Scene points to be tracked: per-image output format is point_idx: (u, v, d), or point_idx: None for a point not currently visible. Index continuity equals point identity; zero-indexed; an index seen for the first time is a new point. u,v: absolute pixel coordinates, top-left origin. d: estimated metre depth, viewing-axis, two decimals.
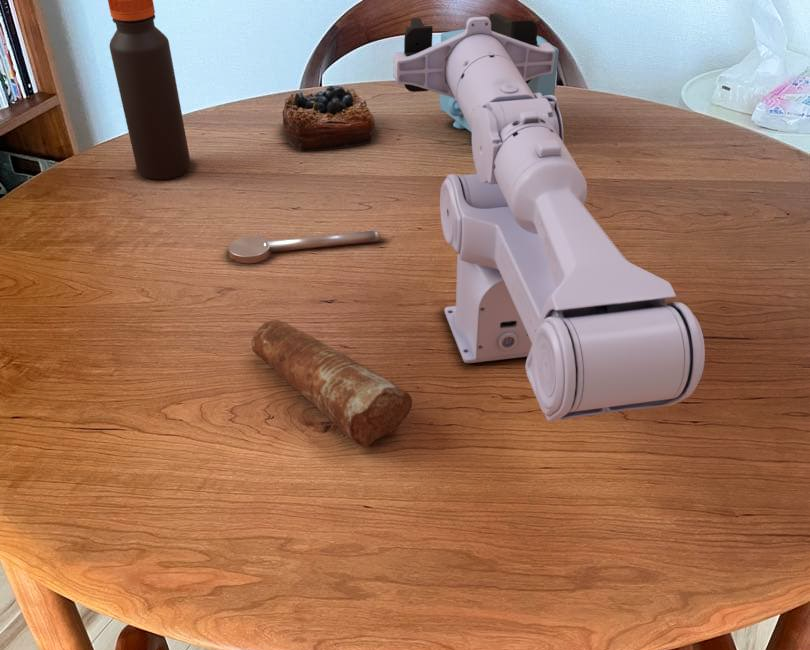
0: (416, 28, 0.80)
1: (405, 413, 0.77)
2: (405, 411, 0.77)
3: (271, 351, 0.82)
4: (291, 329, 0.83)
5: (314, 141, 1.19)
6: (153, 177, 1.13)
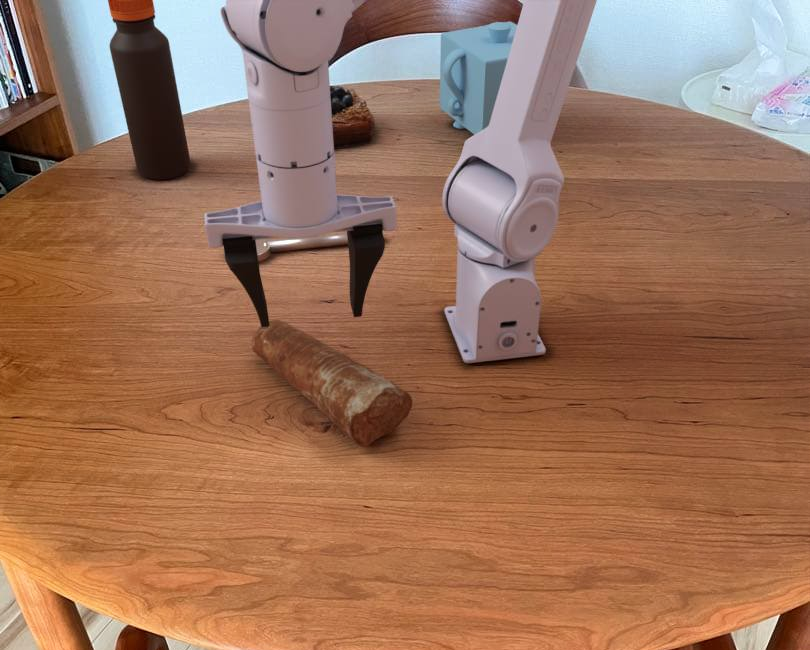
0: None
1: (405, 412, 0.77)
2: (405, 411, 0.77)
3: (271, 350, 0.82)
4: (291, 329, 0.83)
5: None
6: (153, 177, 1.13)
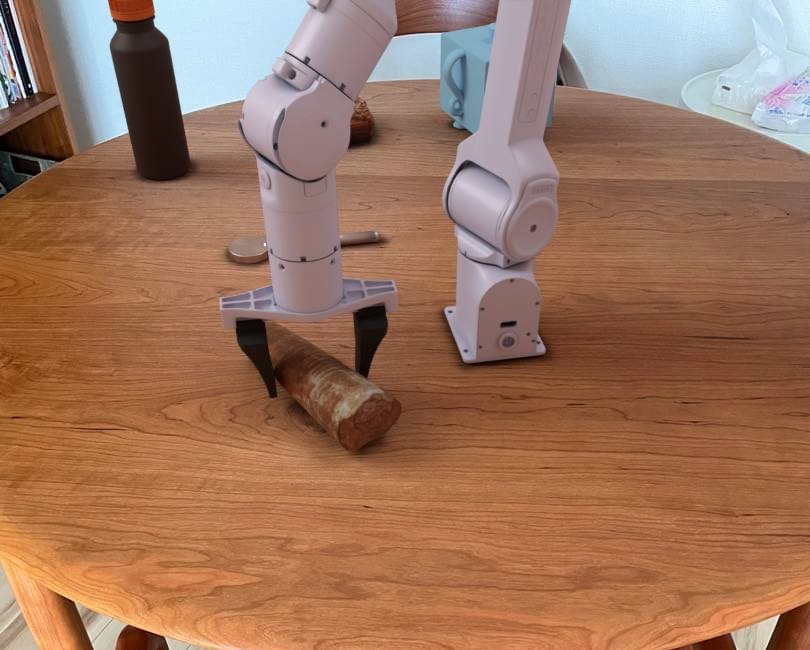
0: None
1: (394, 418, 0.76)
2: (394, 417, 0.76)
3: None
4: (285, 331, 0.82)
5: None
6: (153, 177, 1.13)
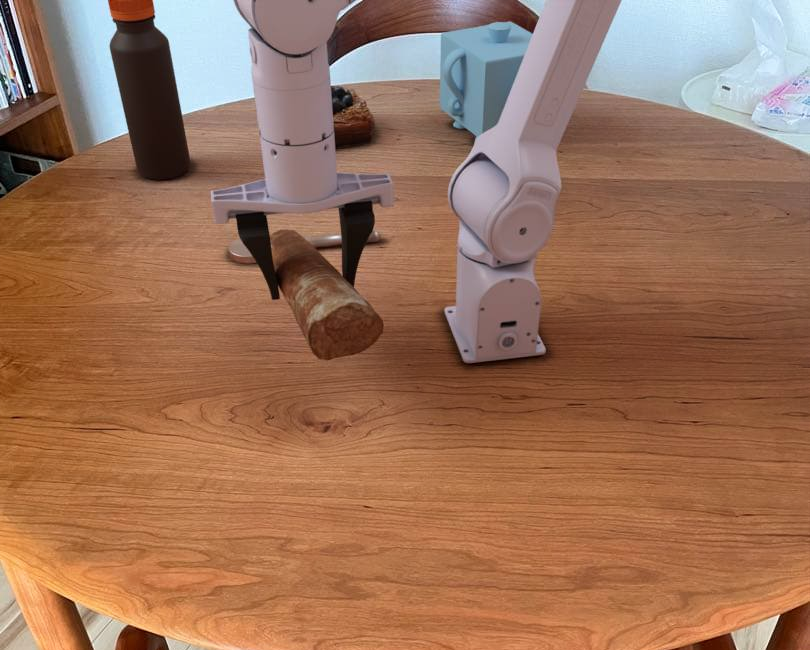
0: None
1: (375, 336, 0.73)
2: (375, 334, 0.73)
3: (272, 255, 0.80)
4: (299, 239, 0.81)
5: None
6: (153, 177, 1.13)
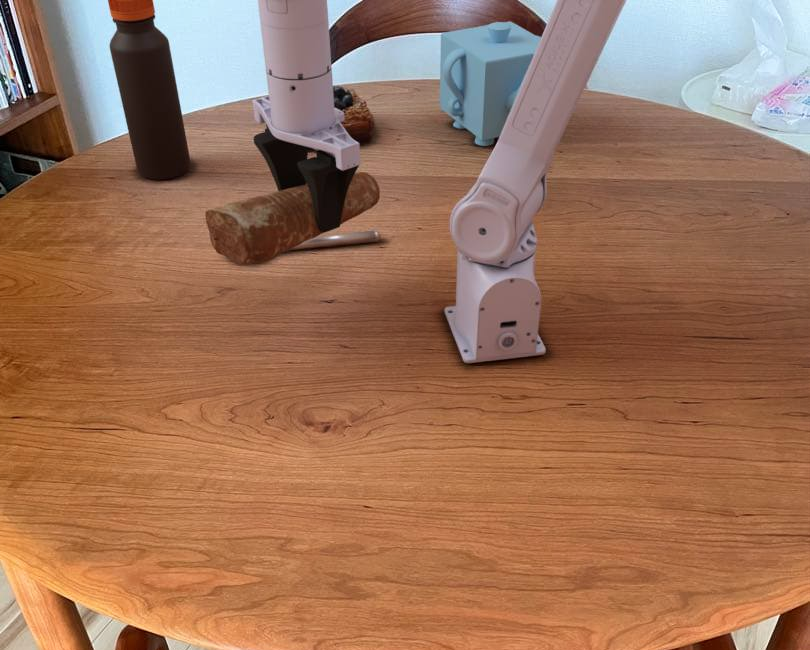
0: None
1: (243, 257, 0.82)
2: (243, 256, 0.82)
3: None
4: None
5: None
6: (153, 177, 1.13)
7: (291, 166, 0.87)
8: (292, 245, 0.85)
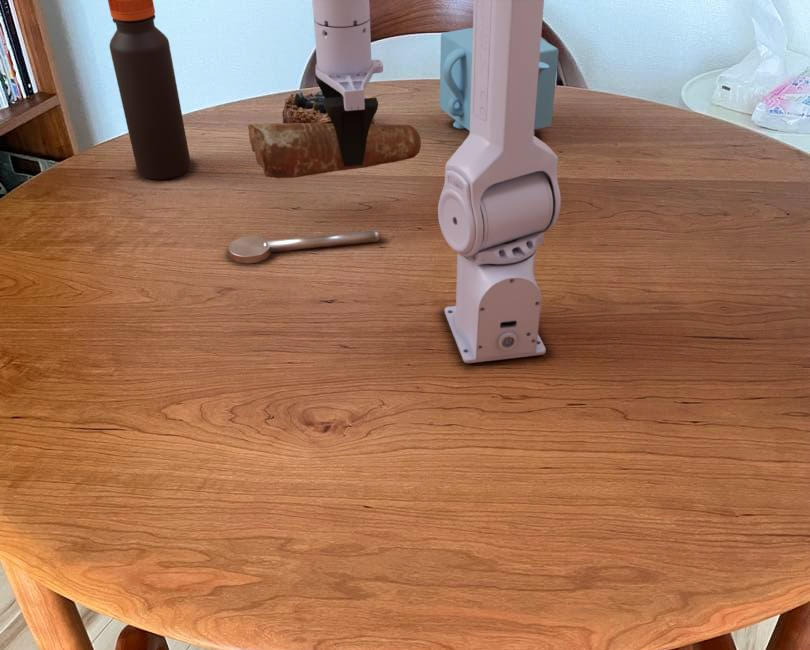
0: None
1: (264, 169, 0.98)
2: (263, 167, 0.98)
3: None
4: (388, 129, 1.00)
5: None
6: (153, 177, 1.13)
7: None
8: (313, 170, 0.99)
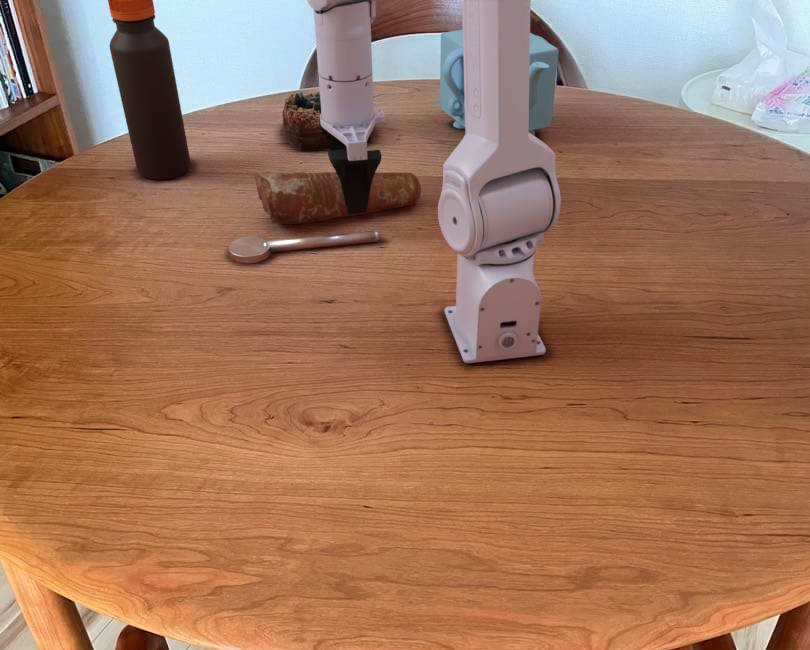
0: None
1: (270, 215, 1.02)
2: (270, 214, 1.02)
3: None
4: (389, 176, 1.05)
5: (314, 141, 1.19)
6: (153, 177, 1.13)
7: (345, 149, 1.05)
8: (318, 216, 1.03)
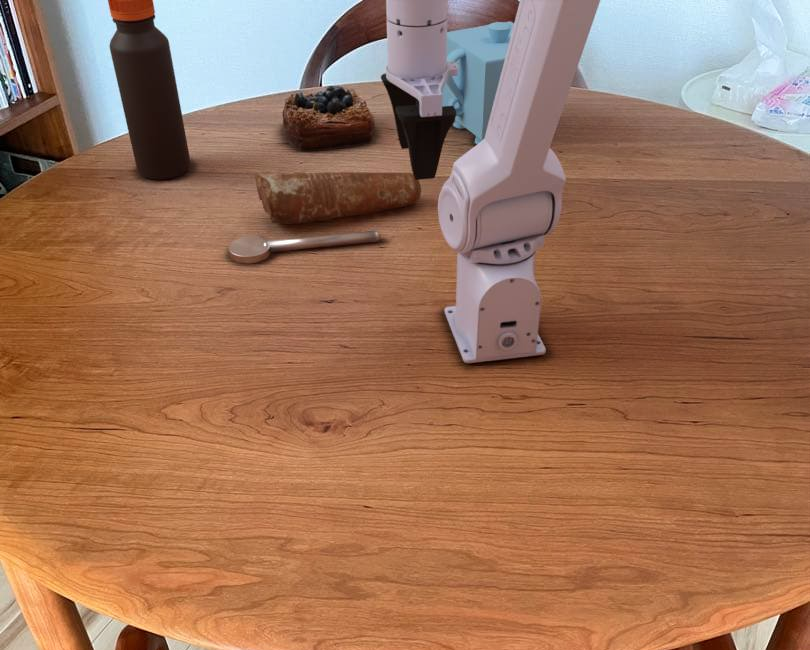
0: None
1: (270, 216, 1.02)
2: (270, 214, 1.02)
3: None
4: (389, 176, 1.05)
5: (314, 141, 1.19)
6: (153, 177, 1.13)
7: None
8: (318, 216, 1.03)
